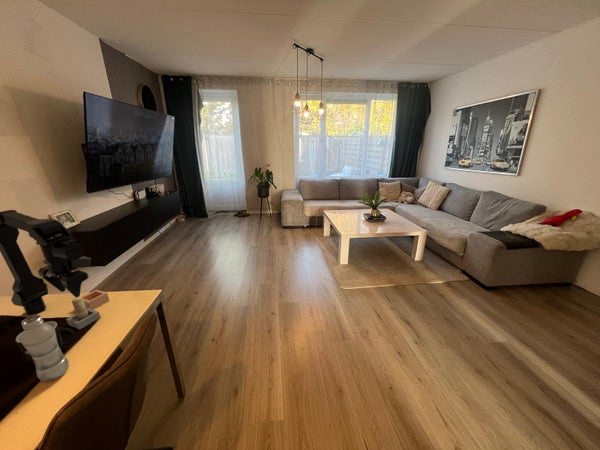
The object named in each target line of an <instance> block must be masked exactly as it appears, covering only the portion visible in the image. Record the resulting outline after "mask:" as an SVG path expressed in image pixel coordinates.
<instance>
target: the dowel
mask: <svg viewBox="0 0 600 450" xmlns="http://www.w3.org/2000/svg"><path fill="white" fill-rule="evenodd" d="M82 297H83V296H79V297H77V298H76V297H74V299H72V300H71V304H72V306H73V309H74V311H75V314H77V317H78V319H79V321H81V320H82V319H84V318H86V317H88V316H89V315H88V312H87V309H86V306H85V304H84V301H83V298H82Z"/></svg>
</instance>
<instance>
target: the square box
mask: <svg viewBox="0 0 600 450" xmlns="http://www.w3.org/2000/svg"><path fill="white" fill-rule="evenodd" d="M81 297H82V298H83V301H84V304H85V306H86V308H90V309H92V310H95V309H97V308H99V307H102V305H105V304H107V303H108V302H110V297H109V294H108V292H105V291H102V290H99V289H96V290H93V291H92V292H89V293H87V294H85V295H83V296H81Z"/></svg>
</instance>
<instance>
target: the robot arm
mask: <svg viewBox="0 0 600 450" xmlns="http://www.w3.org/2000/svg"><path fill="white" fill-rule="evenodd" d="M20 230H22V231H23V232H24V231H25V232H27V234H28V236H29V237H30V238H31V239H33V240H34V241H35V244H36V245H37V246H39V247H40V249H41V253H42V254H43V257H44V260H43V264H45V265H46V266H44V267H41V268H39V269H38V271H37V274H38V275H39V277H38V276H36V275H34V274H33V272H32V270H31V268H30V266H29V264H28V261H27V260H26V257H25V256H24V253H23V252H22V250H21V247H20V245H19V243H18V237H19V235H20ZM73 238H74V236H73V235H72V232H71V231H70V230H69V229H68V228H67V227H66V226H65V225H64V224H63V223H62V222H60V221H59V220H57V219H53V218H37V217H34V216H33V217H32V216H30V215H26V214H23V213H21V212H18V211H17V210H16V209H9V210H8V209H7V210H2V211H0V254H1V256H2V258H3V260H4V261H5V263H6V265H7V267H8V269H9V271H10V273H11V275H12V277H13V279H14V282H13V284H12V292H13V294H12V296H11V298H10V299H11V300H10V301H11V303H12V304H13V305H14V306H17V307H22V308H23V309H24V312H23V313H22V315H25V314H26V315H27V316H29V315H31V316H35V315H40V314H41V313H43V312H45V311H47V309H46V308H47V305H46V302H45V301H44V298H43V297H44V296H47V295H49V289H48V284H47V283H46V282H48V283H49V284H51V285H52V286H53V287H55V288H56V289H57V290H59V292H61V293H63V292H65V291H66V290H67V291H68V292H69V293H70V294H71V295H72V296H73V297H74V298H79V297H81V296H80V295H81V287H82V283H83V282H84V281H87V279H89V278H90V277H89V274H88V272H86V271H83V270H78V268H83V267H91V261H92V258H91V257H88V256H84V255H85V252H86V249H85V246H84V245H83V244H82V243H79V242H76V240H75V239H73ZM41 277H42V278H41ZM44 280H45V281H46V282H45V281H44Z"/></svg>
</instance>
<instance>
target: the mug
mask: <svg viewBox="0 0 600 450" xmlns="http://www.w3.org/2000/svg"><path fill="white" fill-rule="evenodd" d="M43 323H45V324H49V325H51V326H53V327H54V329H55V333H56V339H57V342H58V345H59V348H60V350H61V352H62V351H63V348H64V347H65V346H67V345H69V344H70V343H72V341H73V340H74V338H75V331H74V330H73V329H71V328H69V327H59V325H58V323H57V322H56V321H54V320H51V321H44V322H43ZM62 331H63V332H64V331H65V332H68V333H70V335H71V336H70V338H69V340H67V341H65V342H63V337H62V334H61V332H62ZM24 332H25V330H23V331H22V332H21V333H19V334H18V335H17V336H16V338H15V343H16V345H17V346H18V348H19V349H20V351H21V353H22V354H23V355H24V356H25V357H26V359H28V361H30V362H31V363H32V364H34V365H35V363H34V360H33V358H32V356H31V355H30V353H29V352H28V350H27V349H26V348H25V347H24V346H23V344H22V342H21V338H22V335H23V333H24Z"/></svg>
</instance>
